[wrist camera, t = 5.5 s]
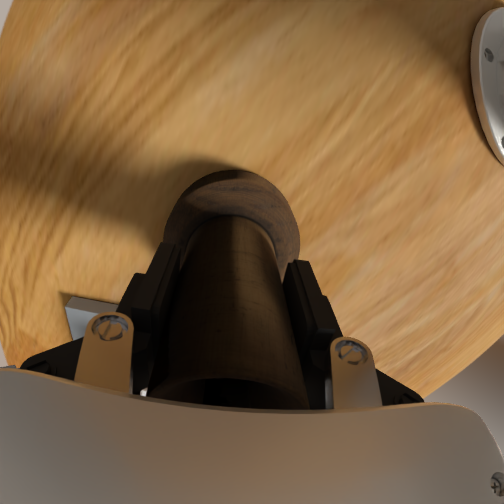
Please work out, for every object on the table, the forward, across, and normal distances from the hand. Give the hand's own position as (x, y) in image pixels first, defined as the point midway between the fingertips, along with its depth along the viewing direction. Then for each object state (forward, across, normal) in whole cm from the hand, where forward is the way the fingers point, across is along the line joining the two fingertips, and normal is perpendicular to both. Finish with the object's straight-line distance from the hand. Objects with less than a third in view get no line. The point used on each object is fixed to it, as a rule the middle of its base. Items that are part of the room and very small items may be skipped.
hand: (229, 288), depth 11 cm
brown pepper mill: (+5, 0, 0) cm, 5 cm away
